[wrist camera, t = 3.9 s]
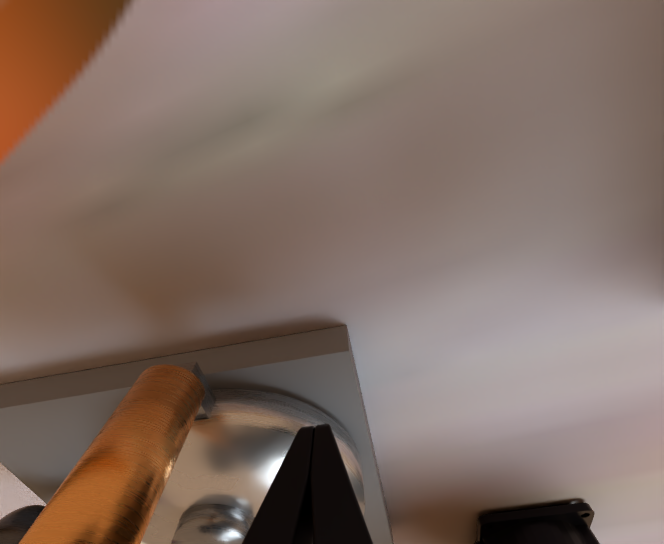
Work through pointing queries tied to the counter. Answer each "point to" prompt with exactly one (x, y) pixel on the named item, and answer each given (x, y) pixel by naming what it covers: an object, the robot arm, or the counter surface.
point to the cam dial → (176, 466)
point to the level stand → (221, 373)
